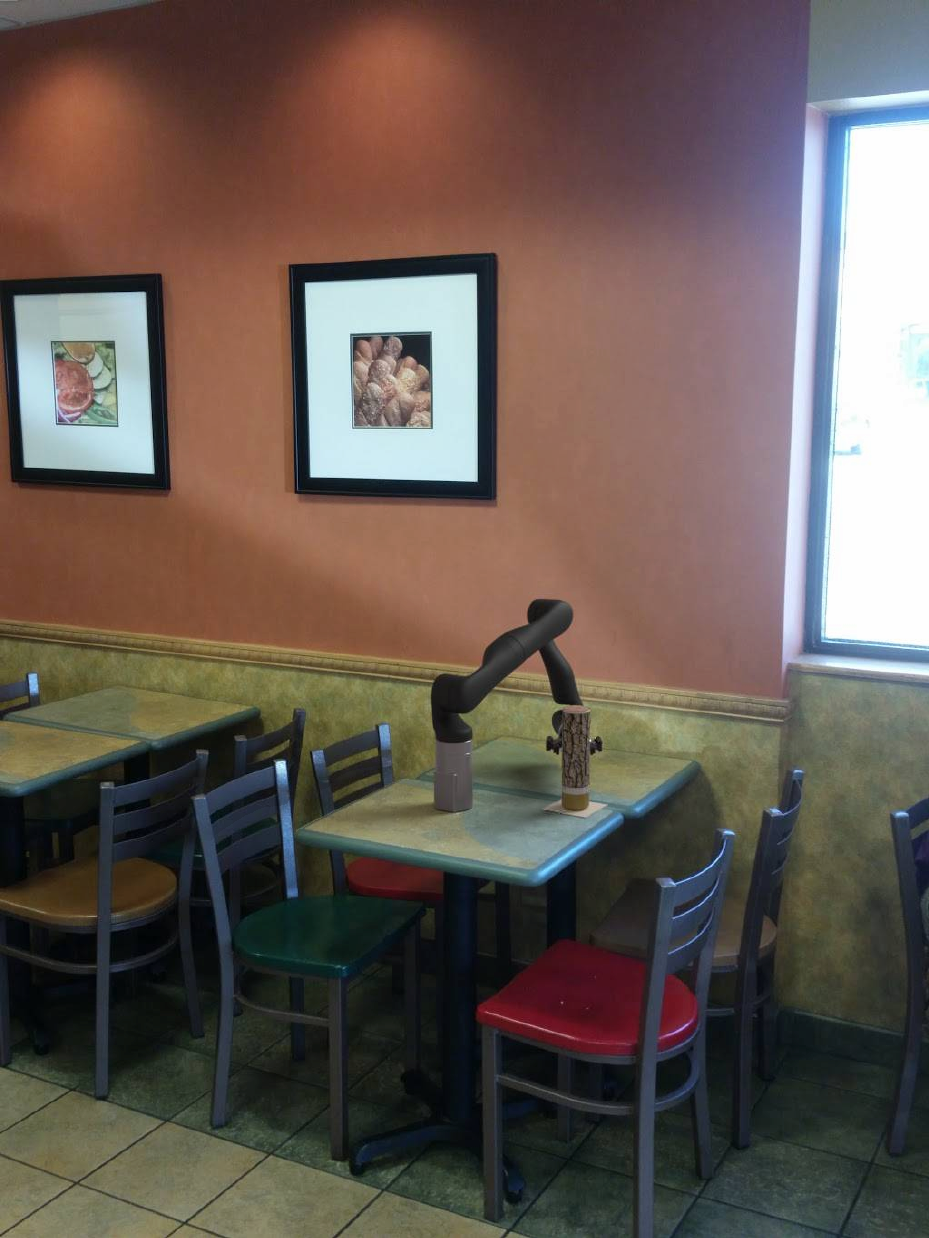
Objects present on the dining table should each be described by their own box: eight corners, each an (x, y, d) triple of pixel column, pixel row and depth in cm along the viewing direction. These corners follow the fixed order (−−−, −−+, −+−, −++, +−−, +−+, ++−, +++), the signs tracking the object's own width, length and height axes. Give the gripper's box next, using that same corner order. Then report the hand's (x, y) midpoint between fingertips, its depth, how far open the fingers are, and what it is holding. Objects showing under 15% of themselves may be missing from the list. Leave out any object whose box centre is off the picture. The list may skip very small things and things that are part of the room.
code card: (585, 818, 297) (585, 817, 297) (542, 809, 303) (542, 809, 303) (608, 805, 306) (608, 804, 306) (565, 797, 313) (565, 796, 313)
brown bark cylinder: (567, 812, 301) (568, 712, 297) (557, 804, 307) (558, 706, 303) (593, 809, 302) (594, 710, 299) (583, 801, 309) (584, 704, 305)
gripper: (545, 721, 324) (546, 736, 308) (600, 721, 323) (603, 736, 307) (545, 748, 325) (546, 765, 309) (599, 749, 324) (603, 766, 308)
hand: (574, 751), depth 308 cm, fingers open, 8 cm apart
